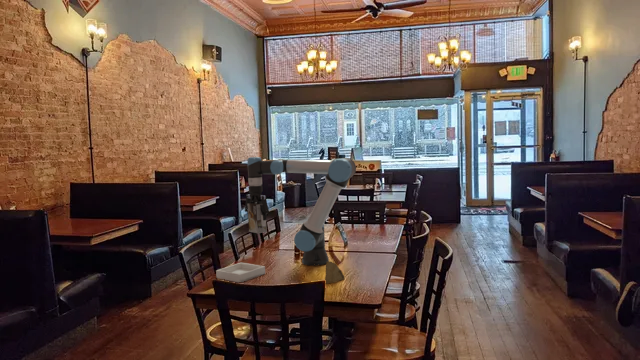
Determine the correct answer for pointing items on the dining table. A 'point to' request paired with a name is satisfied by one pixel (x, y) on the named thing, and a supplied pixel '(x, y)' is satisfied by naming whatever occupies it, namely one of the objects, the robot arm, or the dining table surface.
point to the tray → (240, 272)
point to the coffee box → (255, 218)
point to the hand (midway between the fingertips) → (257, 225)
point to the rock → (333, 273)
